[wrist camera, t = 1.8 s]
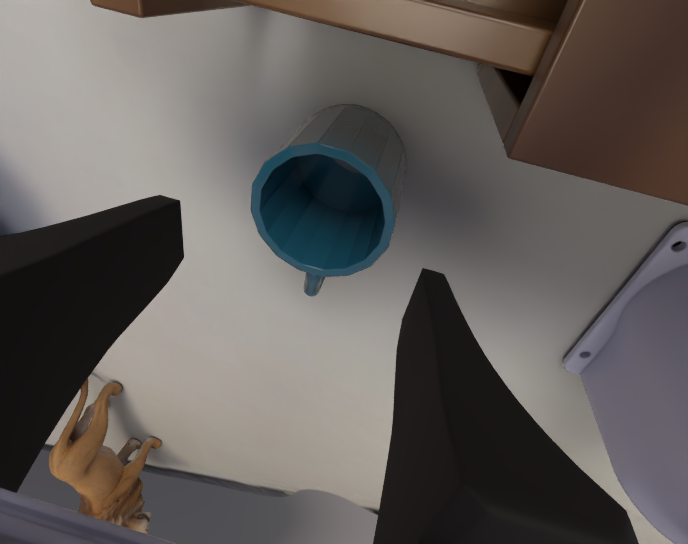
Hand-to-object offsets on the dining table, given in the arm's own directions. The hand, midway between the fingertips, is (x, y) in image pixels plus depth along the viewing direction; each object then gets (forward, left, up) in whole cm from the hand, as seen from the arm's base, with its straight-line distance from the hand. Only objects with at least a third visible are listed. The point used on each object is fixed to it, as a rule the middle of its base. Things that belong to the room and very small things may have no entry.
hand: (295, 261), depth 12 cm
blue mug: (0, 0, -8) cm, 8 cm away
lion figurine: (-30, +14, -8) cm, 34 cm away
